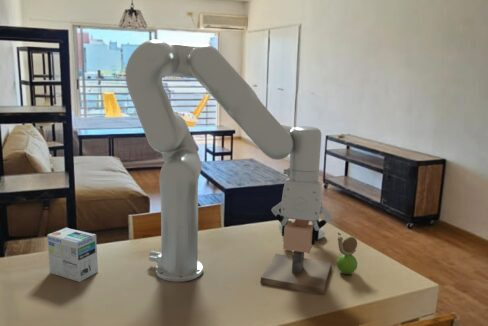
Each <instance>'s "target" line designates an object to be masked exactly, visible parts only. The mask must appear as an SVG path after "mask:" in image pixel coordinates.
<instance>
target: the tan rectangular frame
mask: <svg viewBox="0 0 488 326" xmlns="http://www.w3.org/2000/svg"><path fill="white" fill-rule="evenodd" d="M313 229H314V226H313V224H312V222H311V221H304V220H296V219H290V220H289V221H288V223H287V224H286V225H285V227H284V242H283V245H282V246H283V247H282V249H283V250H285V249H286V250H285V251H287V250H289V251H293V252H294V251H299V252H304V254H305V253H306V254H310V252H311V251H312V248H313V246H314V245H312V232H313Z"/></svg>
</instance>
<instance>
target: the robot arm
mask: <svg viewBox="0 0 488 326" xmlns="http://www.w3.org/2000/svg"><path fill="white" fill-rule="evenodd" d="M127 60H128V61H127V63H126V68H125V82H126V86H127V91H128V93H129V96H130V99H131V101H132V104H133V106H134V109H135V112H136V115H137V117H138V120H139V122H140V124H141V127H142V129H143V132H144V135H145V137H146V140H147V142H148V145H149V146H150V148H152V149H153V150H154V151H155V152H158V153H161V156H162V158H163V161H164V163H162V166H161V169H160V172H159V175H158V176H159V177H158V178H159V180H158V181H159V182H158V183H159V192H160V193H159V194H160V195H159V196H160V216H161V217H160V220H161V221H160V229H161V230H160V231H161V235H160V240H161V241H160V242H161V243H160V244H161V248H160V250H161V251H156V250H151V251H149V255H148V256H149V259H148V260H149V261H150V262H156V263H157V264H156V266H155V274H156V276H157V277H158V278H160V279H162V280H164V281H168V282H175V283H176V282H179V283H180V282H188V281H192V280H195V279H197V278H199V277H200V276H201V275H202V274H203V272H204V266H203V264H202V263H201V262H200V261H199V260H198V256H199V255H198V254H199V253H198V249H199V248H198V247H199V246H198V245H199V244H198V240H199V236H198V235H199V233H198V232H199V180H200V179H199V178H200V176H201V175H200V174H201V172H202V161H201V158H200V155H199V153H198V149H197V147H196V145H195V142H194V140H193V136H192V135H191V131H190V129H189V126H188V124H187V123H186V121H185V119H184V118H183V117H182V116H181V115H180V114H178V113H176V112H175V111H174V109H173V106H172V105H171V102H170V98H169V96H168V94H167V91H166V89H165V87H164V85H163V77H175V78H176V77H177V78H186V79H187V78H188V79H195V80H196V81H197V82H198V83H199V84H200V85H201V86H202V87H203V89H205V90H206V92H208V94H210V95H211V97H213V99H214V100H215V101H216V102H217V103H218V104H219V105H220V107H221V108H222V109H223V110H224V111H225V112H226V114H227V115H228V116H229V117H230V119H232V120H233V121H234V122H235V123H236V124H237V125H238V126H239V127H240V128H241V130H242V131H243V133H245V134H246V135H247V137H248V138H249V139H250V140H251V141H252V142H253V143H254V144H255V145H256V147H258V149H259V150H260V151H261V152H262V153H263V154H264V155H265V156H266V157H268V158H270V159H272V160H276V161H277V160H278V161H279V160H283V159H285V158H287V157H288V156H289V167H288V168H284V169H283V175H287V176H288V177H287V178H286V179H285V181H284V186H283V190H282V197H281V201H280V202H278V204H276V205H274V206H272V208H271V212H272V214H273V215H274V216H275V218H276V219H277V221H278V223H279V222H280V223H281V225H282V234H281V237H282V236H284V227H285V225H286V224H287V223H288V220H289V219H296V220H304V221H311V222H312V224H313V226H314V229H313V232H312V245H313V246H315V243H316V242H318V241H319V239H318V236H319V229H320V228H321V227H322V228H323V227H324V226H325V225H327V223H328V222H330V221H331V220H332V219H333V214H332V213H331V212H330V211H329V210H328V209H327V208H326V207H325V206H324V205H323V191H322V190H323V189H322V182H321V180H319V175H320V174H319V173H320V160H321V147H322V131H321V130H320V129H319V128H317V127H314V126H302V125H301V126H290V125H284V124H280V122H279V121H278V120H277V119H276V118H275V116H274V115H272V113H271V112H270V111H269V110H268V109H267V107H266V106H265V105H264V104H263V102H262V101H261V100H260V98H259V96H258V95H257V94H256V92H255V90H253V88H252V86H251V85H249V83H248V82H247V81H246V80H245V79H244V78H243V77H242V75H240V74H239V72H238V71H237V70H236V69H235V68H234V67H233V66H232V65H231V63H229V61H228V60H227V59H226V58H225V57H224V56H223V55H222V53H220V51H219V50H218V49H217V47H214V45H210V44H205V43H204V44H198V45H195V44H194V45H193V44H180V43H173V42H172V43H171V42H167V41H166V42H165V41H162V40H159V39H150V40H147V41H144V42H143V43H141V44H140V45H138V46H137V47H136V48H135V50H134V51H133V52H132V53H131V55H130V57H129V58H128V59H127ZM321 215H323V216H324V218H323V219H321V220H320V217H321Z"/></svg>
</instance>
